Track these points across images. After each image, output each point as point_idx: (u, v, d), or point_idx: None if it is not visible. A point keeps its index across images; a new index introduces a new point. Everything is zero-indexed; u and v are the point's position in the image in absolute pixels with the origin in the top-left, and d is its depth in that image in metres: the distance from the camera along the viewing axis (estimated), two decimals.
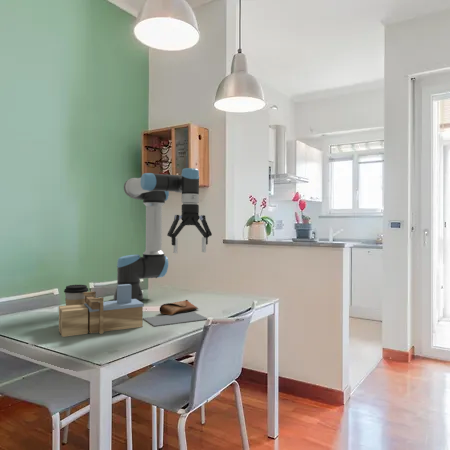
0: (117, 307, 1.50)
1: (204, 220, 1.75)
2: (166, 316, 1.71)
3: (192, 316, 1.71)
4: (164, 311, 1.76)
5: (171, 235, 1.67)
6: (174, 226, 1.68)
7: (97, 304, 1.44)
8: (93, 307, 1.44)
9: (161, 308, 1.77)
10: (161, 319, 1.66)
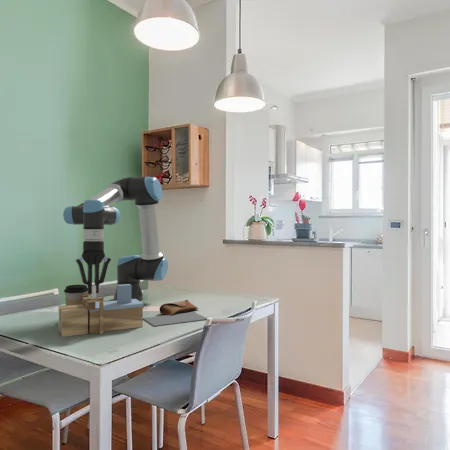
0: (117, 307, 1.50)
1: (106, 263, 1.52)
2: (166, 316, 1.71)
3: (192, 316, 1.71)
4: (164, 311, 1.76)
5: (86, 282, 1.49)
6: (82, 272, 1.48)
7: (93, 304, 1.43)
8: (89, 307, 1.43)
9: (161, 308, 1.77)
10: (161, 319, 1.66)
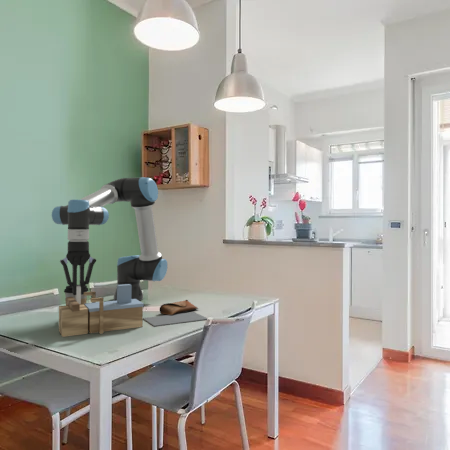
0: (117, 307, 1.50)
1: (92, 264, 1.50)
2: (166, 316, 1.71)
3: (192, 316, 1.71)
4: (164, 311, 1.76)
5: (71, 283, 1.46)
6: (67, 273, 1.45)
7: (77, 306, 1.41)
8: (73, 309, 1.40)
9: (161, 308, 1.77)
10: (161, 319, 1.66)
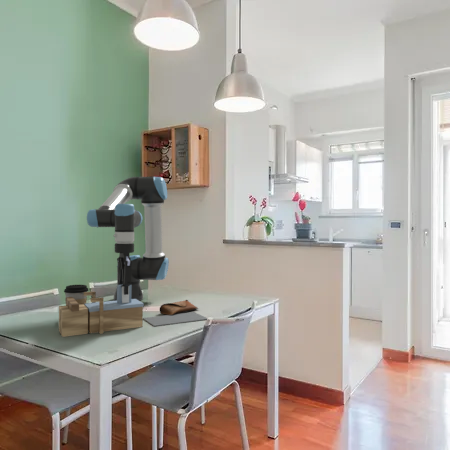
0: (117, 307, 1.50)
1: (124, 266, 1.52)
2: (166, 316, 1.71)
3: (192, 316, 1.71)
4: (164, 311, 1.76)
5: (118, 280, 1.60)
6: (118, 270, 1.61)
7: (77, 306, 1.41)
8: (72, 309, 1.40)
9: (161, 308, 1.77)
10: (161, 319, 1.66)
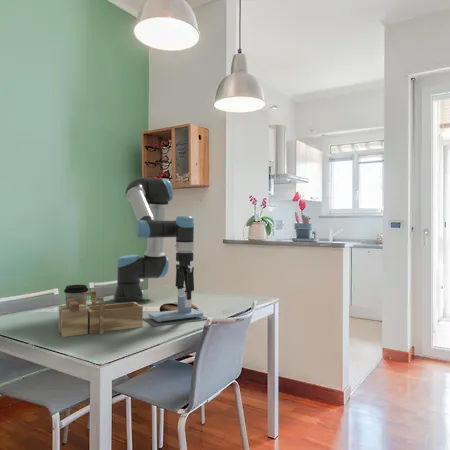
0: (181, 317, 1.63)
1: (187, 272, 1.64)
2: None
3: None
4: None
5: (176, 285, 1.74)
6: (176, 276, 1.74)
7: (77, 306, 1.41)
8: (72, 309, 1.40)
9: (161, 308, 1.77)
10: None
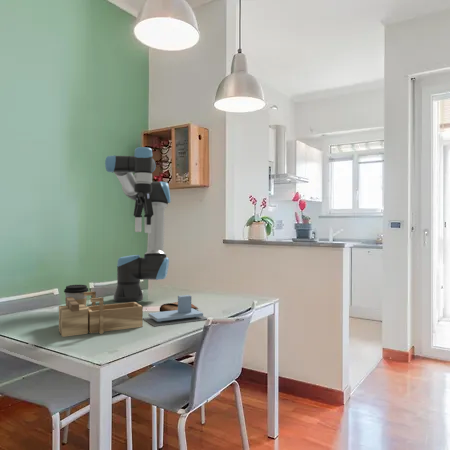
0: (181, 317, 1.63)
1: (145, 199, 1.65)
2: None
3: None
4: None
5: (134, 215, 1.79)
6: (135, 206, 1.78)
7: (77, 306, 1.41)
8: (72, 309, 1.40)
9: (161, 308, 1.77)
10: None
